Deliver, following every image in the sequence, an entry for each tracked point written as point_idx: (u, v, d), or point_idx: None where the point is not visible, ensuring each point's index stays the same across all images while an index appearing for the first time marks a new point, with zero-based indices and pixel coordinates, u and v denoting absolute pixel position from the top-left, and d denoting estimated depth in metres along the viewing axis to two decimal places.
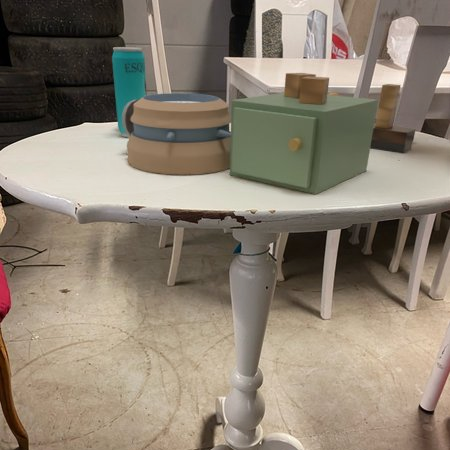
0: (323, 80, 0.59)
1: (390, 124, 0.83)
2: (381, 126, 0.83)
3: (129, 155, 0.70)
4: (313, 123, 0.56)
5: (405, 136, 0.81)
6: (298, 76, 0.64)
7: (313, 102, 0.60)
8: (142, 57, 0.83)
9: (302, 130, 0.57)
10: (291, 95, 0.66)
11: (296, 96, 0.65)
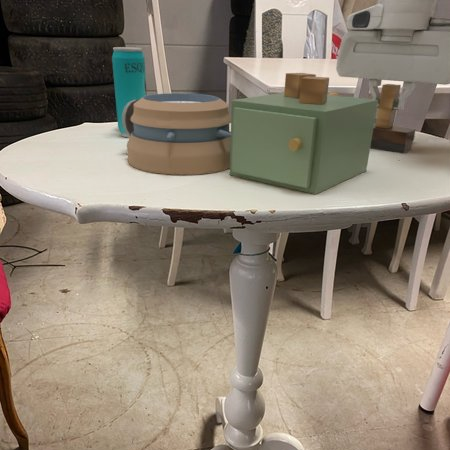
0: (323, 80, 0.59)
1: (390, 124, 0.83)
2: (381, 126, 0.83)
3: (129, 155, 0.70)
4: (313, 123, 0.56)
5: (405, 136, 0.81)
6: (298, 76, 0.64)
7: (313, 102, 0.60)
8: (142, 57, 0.83)
9: (302, 130, 0.57)
10: (291, 95, 0.66)
11: (296, 96, 0.65)
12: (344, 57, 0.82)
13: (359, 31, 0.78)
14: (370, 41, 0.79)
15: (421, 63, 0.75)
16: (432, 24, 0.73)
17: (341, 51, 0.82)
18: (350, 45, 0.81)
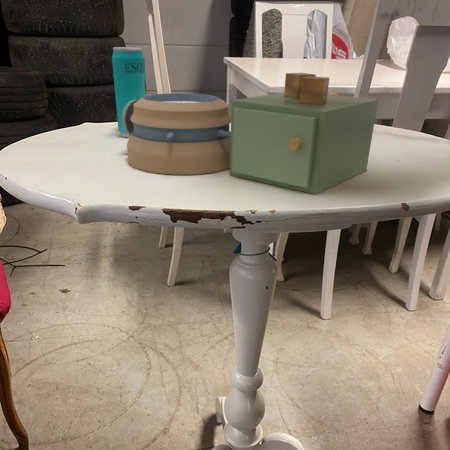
0: (323, 80, 0.59)
1: None
2: None
3: (129, 155, 0.70)
4: (313, 123, 0.56)
5: None
6: (298, 76, 0.64)
7: (313, 102, 0.60)
8: (142, 57, 0.83)
9: (302, 130, 0.57)
10: (291, 95, 0.66)
11: (296, 96, 0.65)
12: None
13: None
14: None
15: None
16: None
17: None
18: None
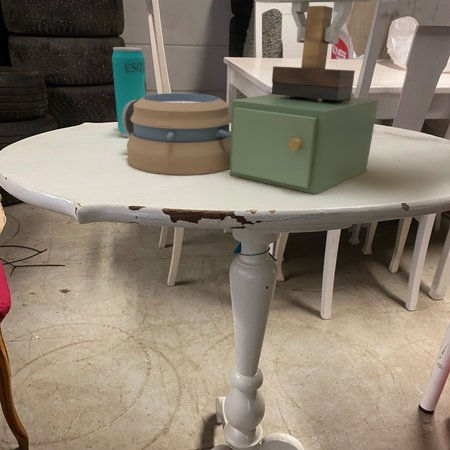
0: None
1: (320, 63, 0.61)
2: (308, 65, 0.62)
3: (129, 155, 0.70)
4: (313, 123, 0.56)
5: (338, 75, 0.59)
6: None
7: None
8: (142, 57, 0.83)
9: (302, 130, 0.57)
10: None
11: None
12: None
13: None
14: None
15: None
16: None
17: None
18: None
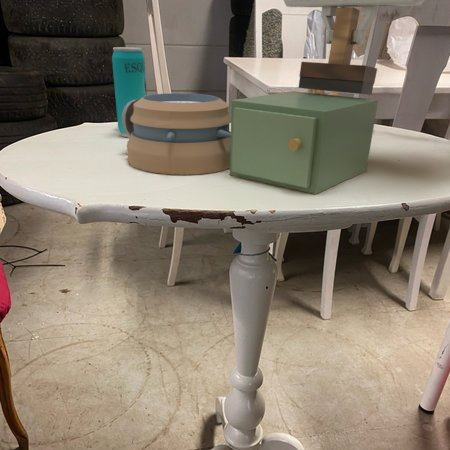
0: None
1: (346, 60, 0.67)
2: (335, 61, 0.67)
3: (129, 155, 0.70)
4: (313, 123, 0.56)
5: (363, 70, 0.64)
6: None
7: None
8: (142, 57, 0.83)
9: (302, 130, 0.57)
10: None
11: None
12: None
13: None
14: None
15: None
16: None
17: None
18: None
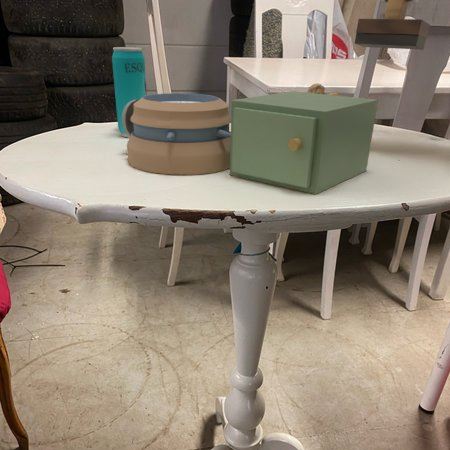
0: None
1: (401, 16, 0.72)
2: (391, 17, 0.72)
3: (129, 155, 0.70)
4: (313, 123, 0.56)
5: (419, 24, 0.69)
6: None
7: None
8: (142, 57, 0.83)
9: (302, 130, 0.57)
10: None
11: None
12: None
13: None
14: None
15: None
16: None
17: None
18: None
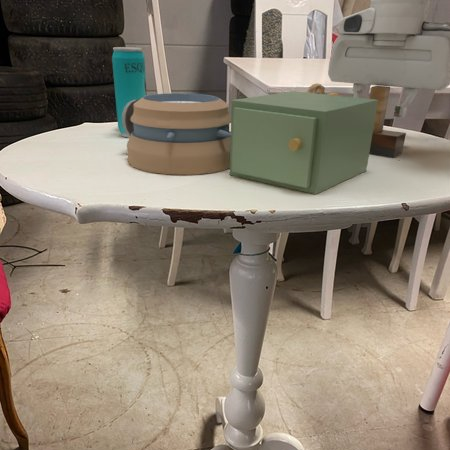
0: None
1: (380, 127, 0.80)
2: None
3: (129, 155, 0.70)
4: (313, 123, 0.56)
5: (395, 140, 0.77)
6: None
7: None
8: (142, 57, 0.83)
9: (302, 130, 0.57)
10: None
11: None
12: (336, 62, 0.80)
13: (351, 35, 0.77)
14: (362, 45, 0.77)
15: (414, 68, 0.74)
16: (425, 28, 0.72)
17: (333, 56, 0.80)
18: (342, 50, 0.79)
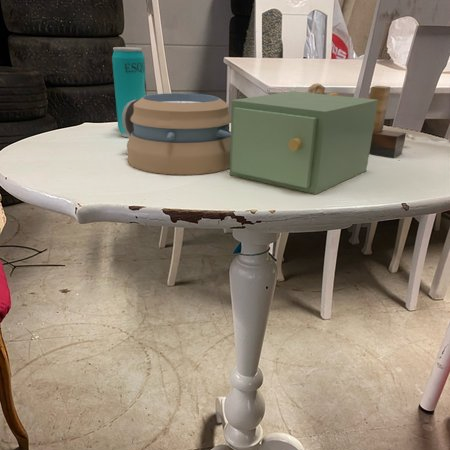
0: None
1: (380, 127, 0.80)
2: None
3: (129, 155, 0.70)
4: (313, 123, 0.56)
5: (395, 140, 0.77)
6: None
7: None
8: (142, 57, 0.83)
9: (302, 130, 0.57)
10: None
11: None
12: None
13: None
14: None
15: None
16: None
17: None
18: None
